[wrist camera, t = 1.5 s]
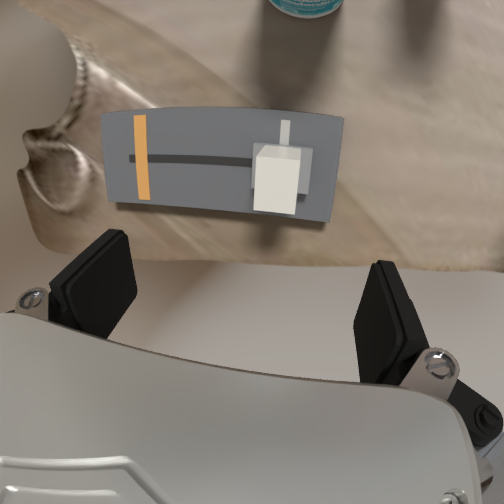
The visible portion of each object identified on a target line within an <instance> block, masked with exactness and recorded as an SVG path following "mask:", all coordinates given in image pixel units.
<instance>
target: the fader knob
mask: <svg viewBox="0 0 504 504" xmlns="http://www.w3.org/2000/svg"><path fill="white" fill-rule="evenodd" d="M312 153H313V148H309V147H300V146H291V145H281V144H270V143H258V142H255V143H254V144H253V161H252V181H251V188H254V208H253V210H258V211H267V212H276V213H285V214H293V215H295V207H296V198H297V193H300V194H308V189H309V180H310V172H311V163H312Z"/></svg>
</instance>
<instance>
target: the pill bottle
mask: <svg viewBox="0 0 504 504" xmlns="http://www.w3.org/2000/svg"><path fill="white" fill-rule="evenodd" d="M269 1H270V2H271V3H272V4H273V5H274V6H275V7H276V8H277V9H279V10H280V11H282V12H284V13H286V14H288V15H291V16H294V17H299V18H318V17H322V16H325V15H328V14H330V13H332V12H333V11H335V10H336V9H337V8H338V7H339V6H340V5H341V3H342V2H343V0H269Z"/></svg>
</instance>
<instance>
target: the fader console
mask: <svg viewBox="0 0 504 504" xmlns="http://www.w3.org/2000/svg"><path fill="white" fill-rule="evenodd" d="M343 123H344V118H342V117H338V116H331V115H324V114H317V113H308V112H299V111H289V110H278V109H264V108H246V107H170V108H152V109H139V110H128V111H118V112H110V113H105V114H101V131H102V146H103V158H104V169H105V178H106V187H107V195H108V201H109V202H126V203H141V204H154V205H167V206H180V207H191V208H203V209H214V210H224V211H234V212H244V213H253V214H262V215H271V216H280V217H289V218H297V219H305V220H313V221H321V222H329V223H330V218H331V212H332V205H333V199H334V193H335V186H336V179H337V172H338V165H339V157H340V149H341V141H342V133H343ZM255 142H258V143H270V144H281V145H291V146H300V147H309V148H313V153H312V163H311V172H310V180H309V189H308V194H300V193H297V198H296V207H295V215H293V214H285V213H276V212H267V211H258V210H253V208H254V188H251V181H252V161H253V144H254V143H255Z"/></svg>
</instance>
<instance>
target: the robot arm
mask: <svg viewBox="0 0 504 504" xmlns="http://www.w3.org/2000/svg"><path fill="white" fill-rule="evenodd" d="M49 285H50V288H51V292H50V293H48V291H47V290H46V289H44V288H41V287H37V288H32V289H29V290H27V291H26V292H24V293H23V294H21V295H20V297H19V298H18V299H17V302H16V306H15V310H12V311H9V312H6V313H1V314H0V504H504V432H503V431H502V429H503V418H502V415H501V413H500V411H499V410H498V408H497V407H496V406H495V405H493V404H492V403H491V402H489V401H488V400H486V399H485V398H484V397H482V396H481V395H479V394H478V393H477V392H475V391H474V390H472V389H471V388H470V387H468V386H467V385H466V384H464V383H463V382H461V381H460V380H458V376H459V371H460V369H459V364H458V362H457V360H456V359H455V358H454V357H453V355H452V354H450V353H449V352H448V351H446V350H443V349H441V348H436V347H435V348H430V347H429V344H428V341H427V338H426V336H425V333H424V330H423V328H422V325H421V322H420V320H419V318H418V315H417V312H416V310H415V307H414V305H413V302H412V301H411V299H409V296H408V294H407V291H406V289H405V287H404V284H403V282H402V280H401V278H400V275H399V273H398V271H397V268H396V266H395V264H394V262H392V261H384V260H378V261H377V263H373V264H372V265H371V268H370V272H369V275H368V278H367V282H366V285H365V288H364V291H363V295H362V298H361V301H360V304H359V307H358V310H357V313H356V316H355V319H354V325H353V329H354V335H355V343H356V351H357V358H358V367H359V376H360V382H347V381H333V380H321V379H311V378H301V377H292V376H283V375H276V374H268V373H261V372H254V371H247V370H241V369H235V368H229V367H223V366H218V365H212V364H207V363H201V362H197V361H192V360H187V359H182V358H178V357H174V356H169V355H165V354H161V353H156V352H152V351H148V350H144V349H141V348H136V347H133V346H129V345H125V344H122V343H118V342H114V341H111V340H107V338H108V336H109V335H110V333H111V332H112V331H113V329H114V328H115V326H116V325H117V323H118V322H119V320H120V319H121V317H122V316H123V314H124V313H125V312H126V310H127V309H128V307H129V306H130V305H131V303H132V302H133V300H134V299H135V298H136V295H137V285H136V280H135V275H134V270H133V264H132V259H131V253H130V247H129V241H128V236H127V235H126V234H125V233H124V231H123V230H117V229H109V230H107V231H106V232H105V233H104V234H102V235H101V236H100V237H99V238H98V239H97V240H95V241H94V242H93V243H92V244H91V245H90V246H89V247H87V248H86V249H85V250H84V251H83V252H82V253H81V254H80V255H78V256H77V257H76V258H75V259H74V260H73V261H72V262H71V263H70V264H69V265H68V266H66V267H65V268H64V269H63V270H62V271H61V272H60V273H59V274H58V275H57V276H56V277H55V278H54V279H53V280H52V281H51V282H50V283H49Z"/></svg>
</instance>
